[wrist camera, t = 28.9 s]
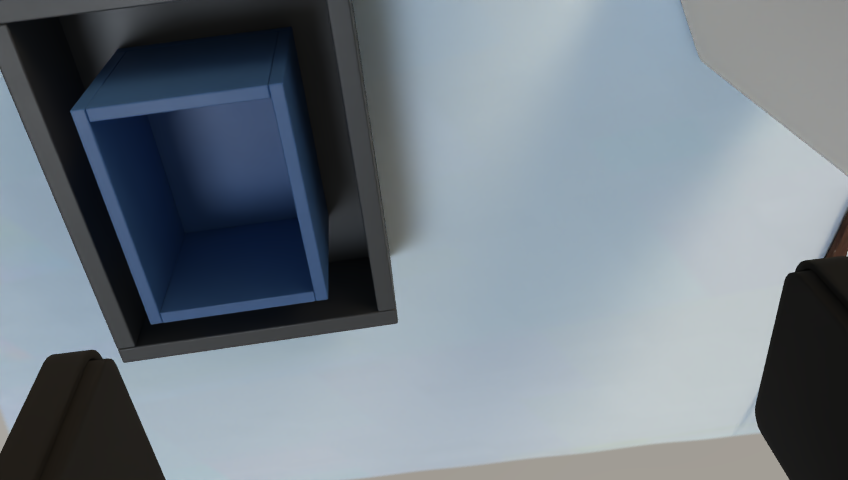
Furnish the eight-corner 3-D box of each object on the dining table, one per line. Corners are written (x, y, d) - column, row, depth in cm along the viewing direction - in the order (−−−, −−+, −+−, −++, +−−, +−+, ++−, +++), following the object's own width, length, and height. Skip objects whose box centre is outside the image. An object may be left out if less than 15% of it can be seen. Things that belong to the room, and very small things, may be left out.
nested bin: (117, 48, 30) (68, 110, 24) (291, 26, 30) (282, 82, 25) (178, 237, 35) (150, 325, 29) (328, 217, 35) (328, 299, 29)
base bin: (27, -34, 29) (-29, 2, 24) (341, -73, 29) (342, -45, 25) (148, 292, 37) (122, 363, 33) (390, 258, 37) (398, 324, 33)
